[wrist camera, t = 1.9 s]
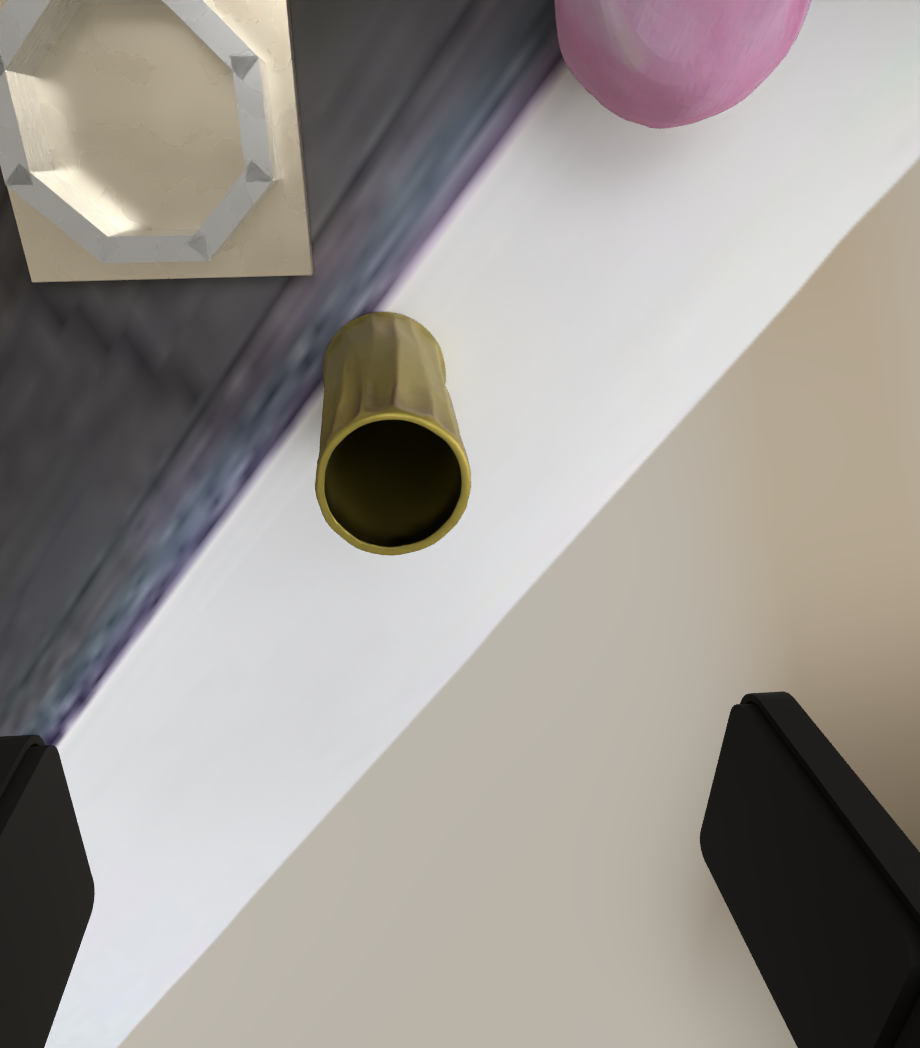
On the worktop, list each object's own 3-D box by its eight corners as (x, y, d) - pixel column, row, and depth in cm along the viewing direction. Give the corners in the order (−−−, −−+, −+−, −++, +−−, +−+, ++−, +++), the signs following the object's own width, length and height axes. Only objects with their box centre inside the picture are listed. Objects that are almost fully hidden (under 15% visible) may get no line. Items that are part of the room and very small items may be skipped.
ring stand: (284, -49, 29) (272, -77, 25) (314, 270, 34) (308, 283, 31) (-38, -54, 28) (-98, -84, 24) (45, 276, 33) (6, 291, 30)
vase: (339, 440, 38) (325, 582, 26) (308, 323, 36) (277, 418, 23) (454, 418, 38) (497, 548, 26) (432, 299, 36) (469, 380, 23)
